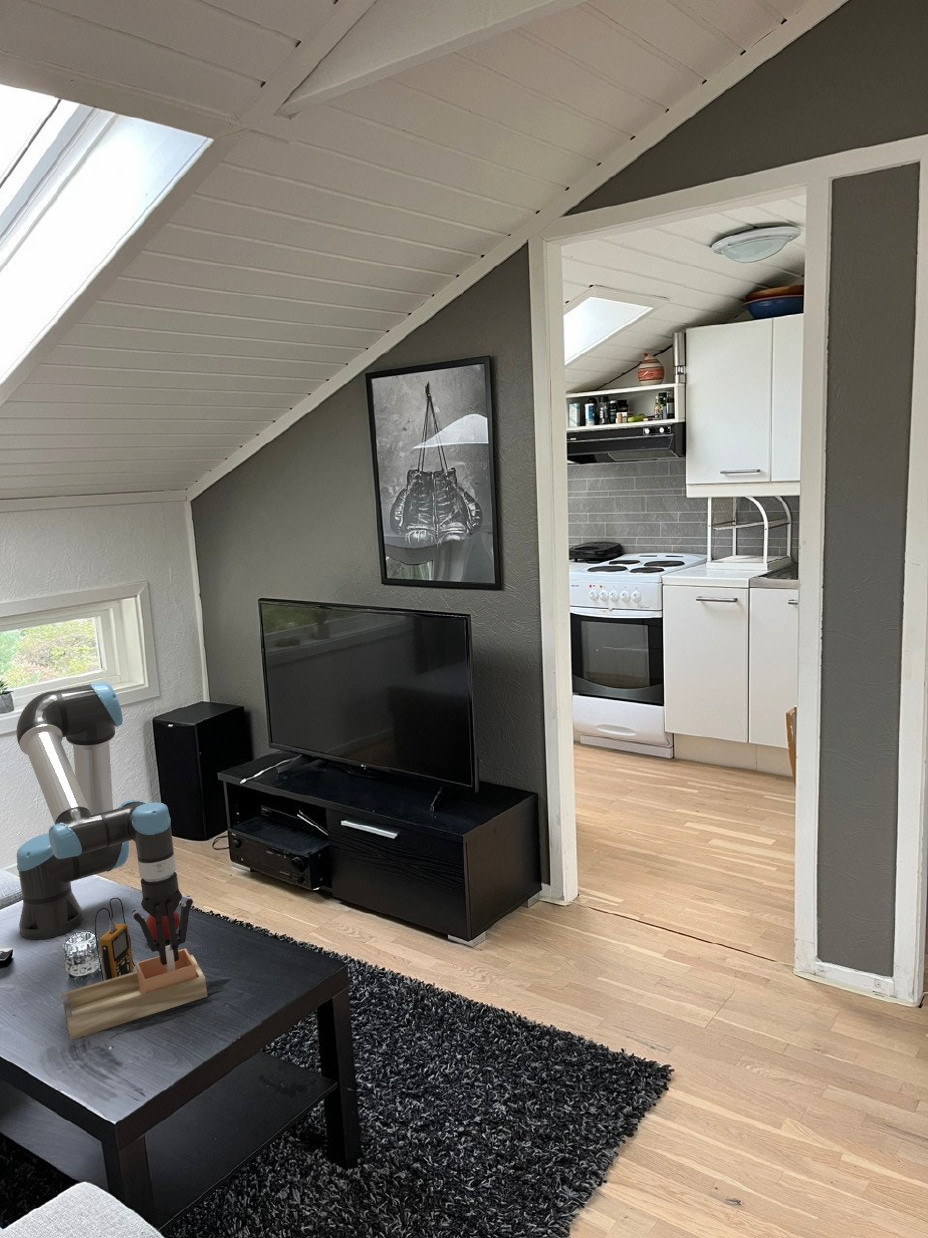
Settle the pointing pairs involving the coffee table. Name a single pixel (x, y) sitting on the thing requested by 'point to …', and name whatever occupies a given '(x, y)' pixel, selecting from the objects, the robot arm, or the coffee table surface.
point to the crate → (164, 972)
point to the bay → (124, 1002)
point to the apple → (152, 929)
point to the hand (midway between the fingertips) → (171, 975)
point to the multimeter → (115, 949)
